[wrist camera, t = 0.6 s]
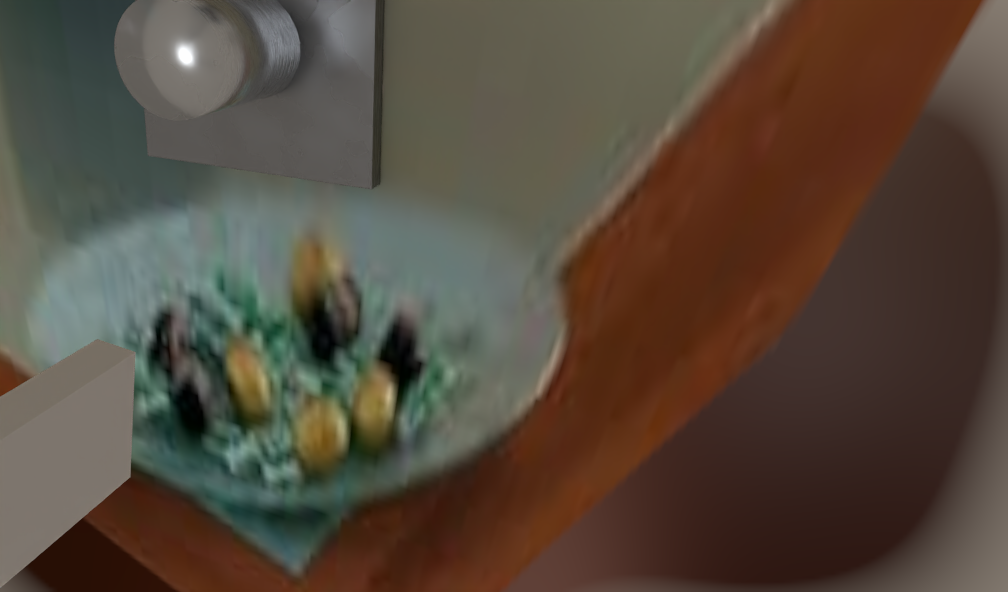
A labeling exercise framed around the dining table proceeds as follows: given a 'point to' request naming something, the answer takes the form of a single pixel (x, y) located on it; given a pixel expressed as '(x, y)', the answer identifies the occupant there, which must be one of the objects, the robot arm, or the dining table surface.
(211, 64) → the knob on square plate
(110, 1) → the dining table surface
